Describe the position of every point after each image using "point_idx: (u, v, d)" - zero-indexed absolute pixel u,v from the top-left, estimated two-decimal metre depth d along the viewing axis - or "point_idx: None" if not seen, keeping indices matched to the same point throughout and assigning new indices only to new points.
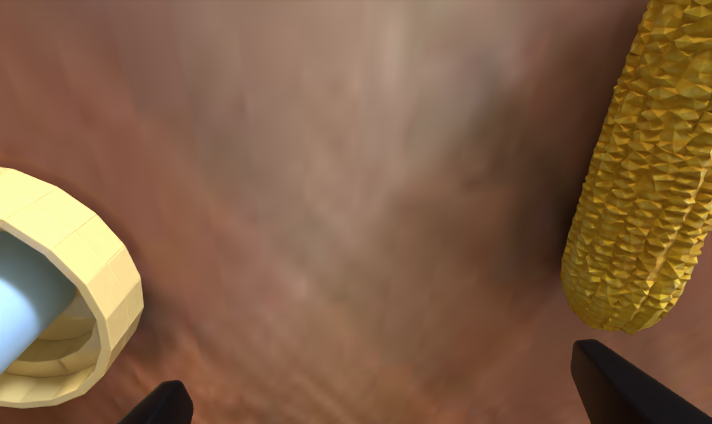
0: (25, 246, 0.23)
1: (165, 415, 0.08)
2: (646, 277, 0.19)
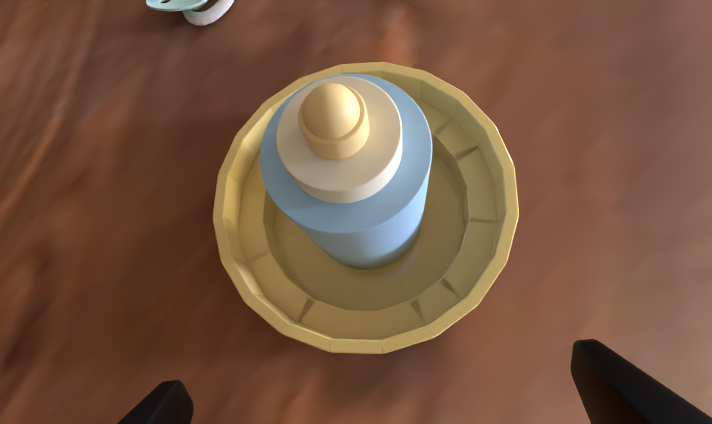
0: None
1: (165, 415, 0.08)
2: None
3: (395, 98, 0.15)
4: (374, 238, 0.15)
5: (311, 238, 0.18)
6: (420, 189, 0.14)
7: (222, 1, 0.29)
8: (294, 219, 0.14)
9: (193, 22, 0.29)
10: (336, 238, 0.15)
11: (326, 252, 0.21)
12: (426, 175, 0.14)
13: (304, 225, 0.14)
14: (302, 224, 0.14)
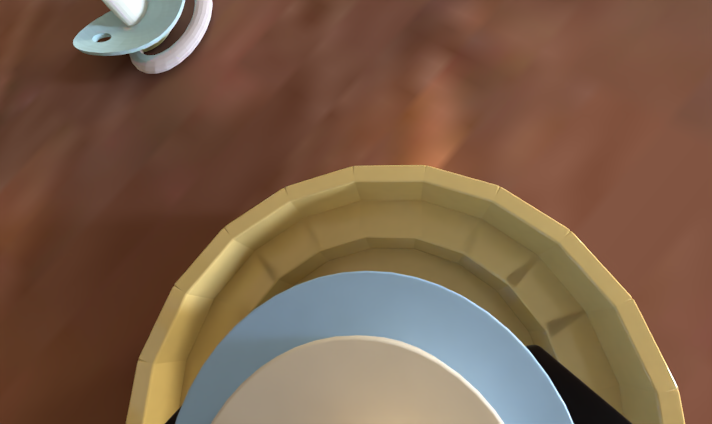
0: None
1: None
2: None
3: (489, 352, 0.06)
4: None
5: None
6: None
7: (183, 41, 0.20)
8: None
9: (142, 69, 0.21)
10: None
11: None
12: None
13: None
14: None
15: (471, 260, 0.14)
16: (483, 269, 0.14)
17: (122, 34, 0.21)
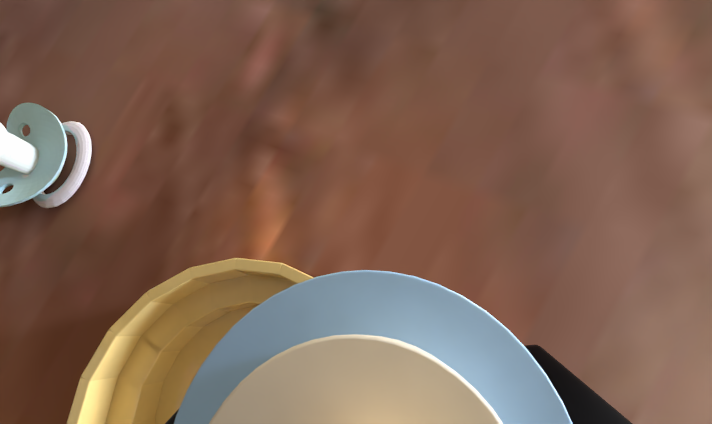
0: None
1: None
2: None
3: (488, 351, 0.06)
4: None
5: None
6: None
7: (72, 177, 0.26)
8: None
9: (43, 206, 0.26)
10: None
11: None
12: None
13: None
14: None
15: None
16: None
17: (22, 181, 0.26)
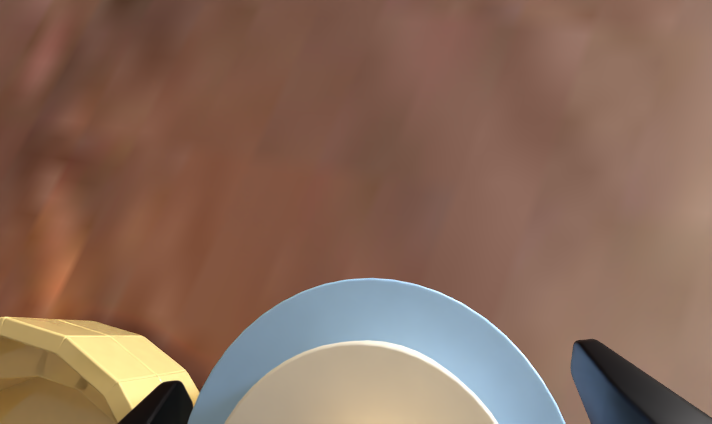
0: None
1: (165, 415, 0.08)
2: None
3: (486, 355, 0.07)
4: None
5: None
6: None
7: None
8: None
9: None
10: None
11: None
12: None
13: None
14: None
15: None
16: None
17: None
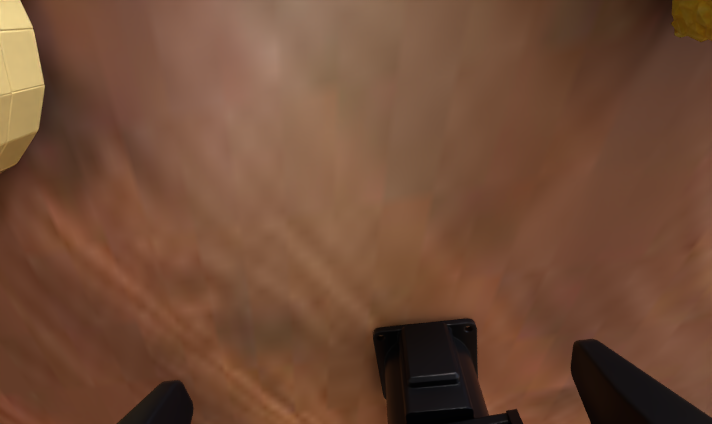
0: None
1: (165, 415, 0.08)
2: None
3: None
4: None
5: None
6: None
7: None
8: None
9: None
10: None
11: None
12: None
13: None
14: None
15: None
16: None
17: None
